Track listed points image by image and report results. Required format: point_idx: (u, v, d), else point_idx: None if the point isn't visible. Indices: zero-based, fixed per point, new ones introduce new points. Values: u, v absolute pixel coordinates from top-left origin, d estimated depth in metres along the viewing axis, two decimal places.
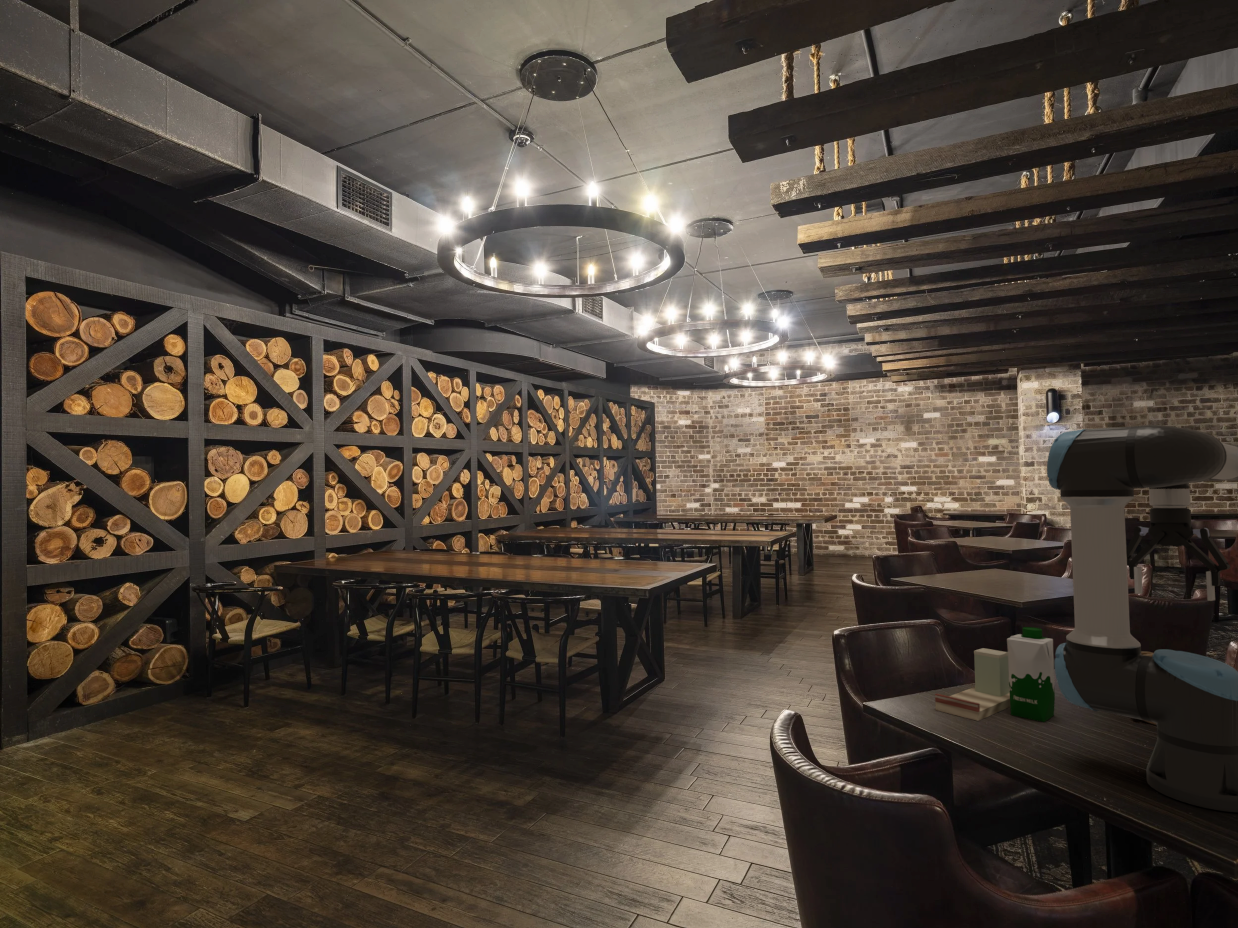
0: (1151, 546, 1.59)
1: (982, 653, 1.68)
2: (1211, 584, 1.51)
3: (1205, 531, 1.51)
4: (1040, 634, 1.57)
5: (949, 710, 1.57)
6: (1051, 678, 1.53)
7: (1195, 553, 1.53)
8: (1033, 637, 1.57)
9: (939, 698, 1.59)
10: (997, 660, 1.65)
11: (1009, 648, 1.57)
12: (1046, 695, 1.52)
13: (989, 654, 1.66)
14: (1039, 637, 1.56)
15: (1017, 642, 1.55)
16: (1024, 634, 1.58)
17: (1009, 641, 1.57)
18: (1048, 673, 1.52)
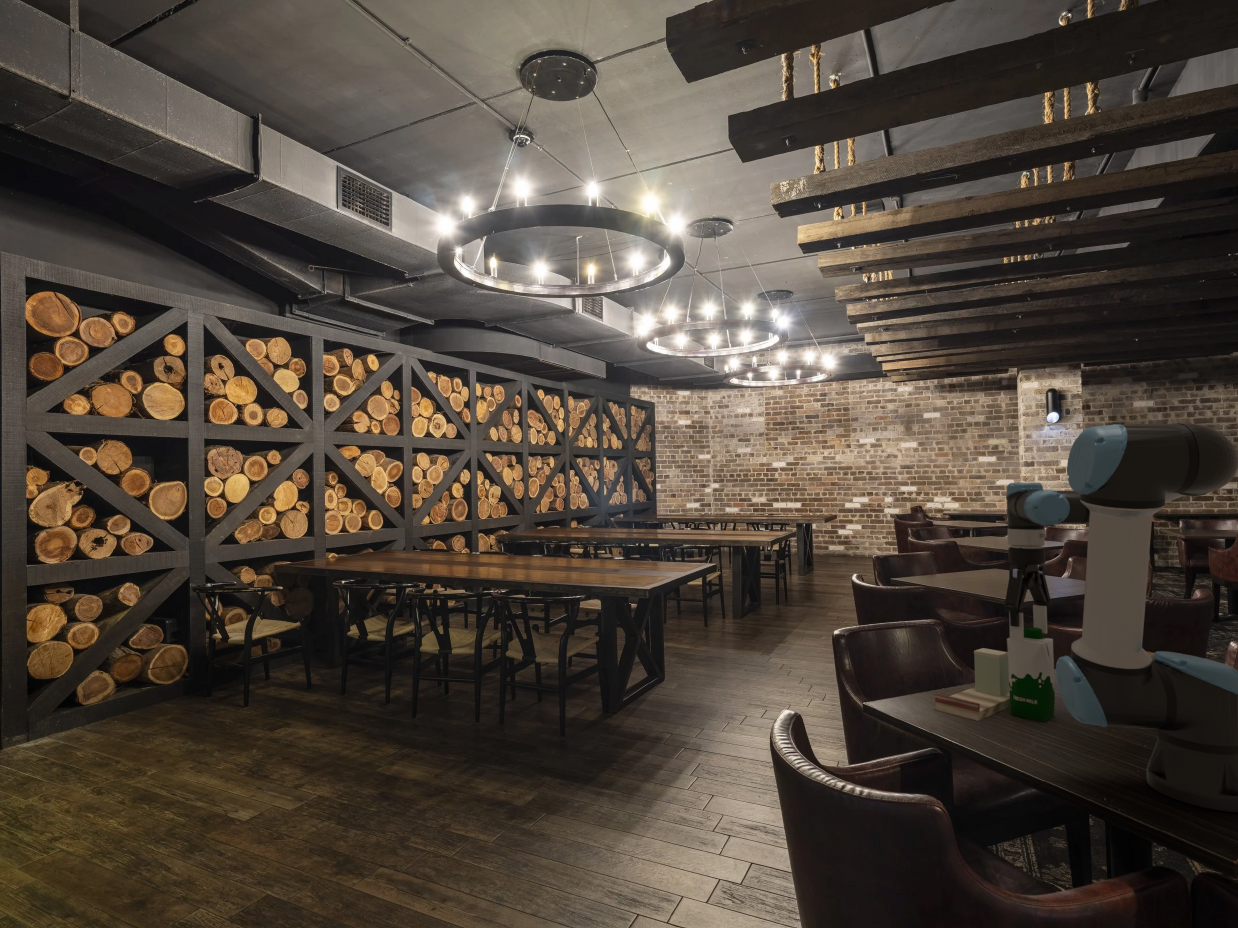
0: None
1: (982, 653, 1.68)
2: None
3: (1009, 571, 1.55)
4: (1040, 634, 1.57)
5: (949, 710, 1.57)
6: (1051, 678, 1.53)
7: None
8: (1033, 637, 1.57)
9: (939, 698, 1.59)
10: (997, 660, 1.65)
11: (1009, 648, 1.57)
12: (1046, 695, 1.52)
13: (989, 654, 1.66)
14: (1039, 637, 1.56)
15: (1017, 642, 1.55)
16: (1024, 634, 1.58)
17: (1009, 641, 1.57)
18: (1048, 673, 1.52)
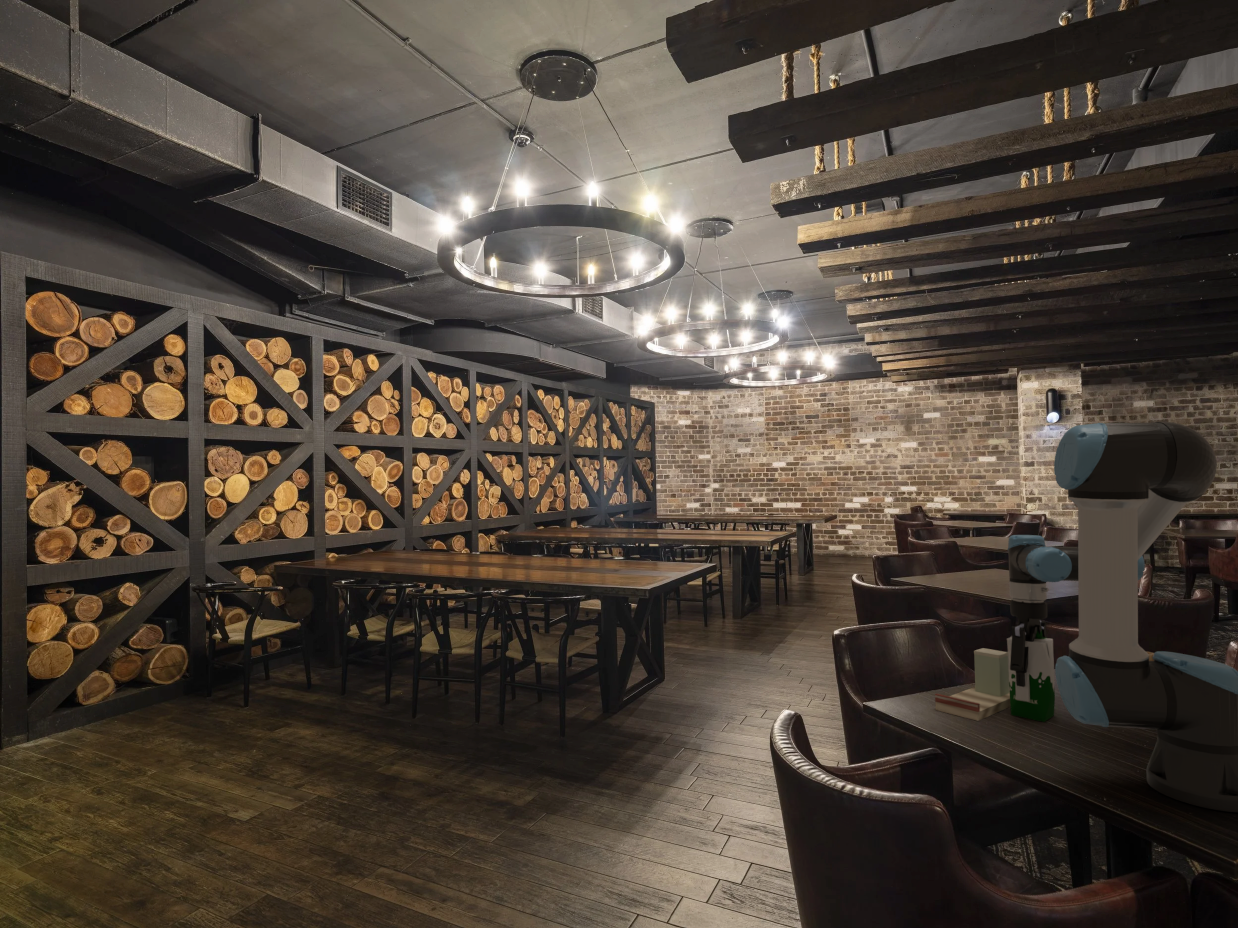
0: None
1: (982, 653, 1.68)
2: None
3: (1011, 629, 1.54)
4: (1040, 634, 1.57)
5: (949, 710, 1.57)
6: (1051, 678, 1.53)
7: None
8: None
9: (939, 698, 1.59)
10: (997, 660, 1.65)
11: (1009, 648, 1.57)
12: (1046, 695, 1.52)
13: (989, 654, 1.66)
14: (1039, 637, 1.56)
15: None
16: None
17: (1009, 641, 1.57)
18: (1048, 673, 1.52)
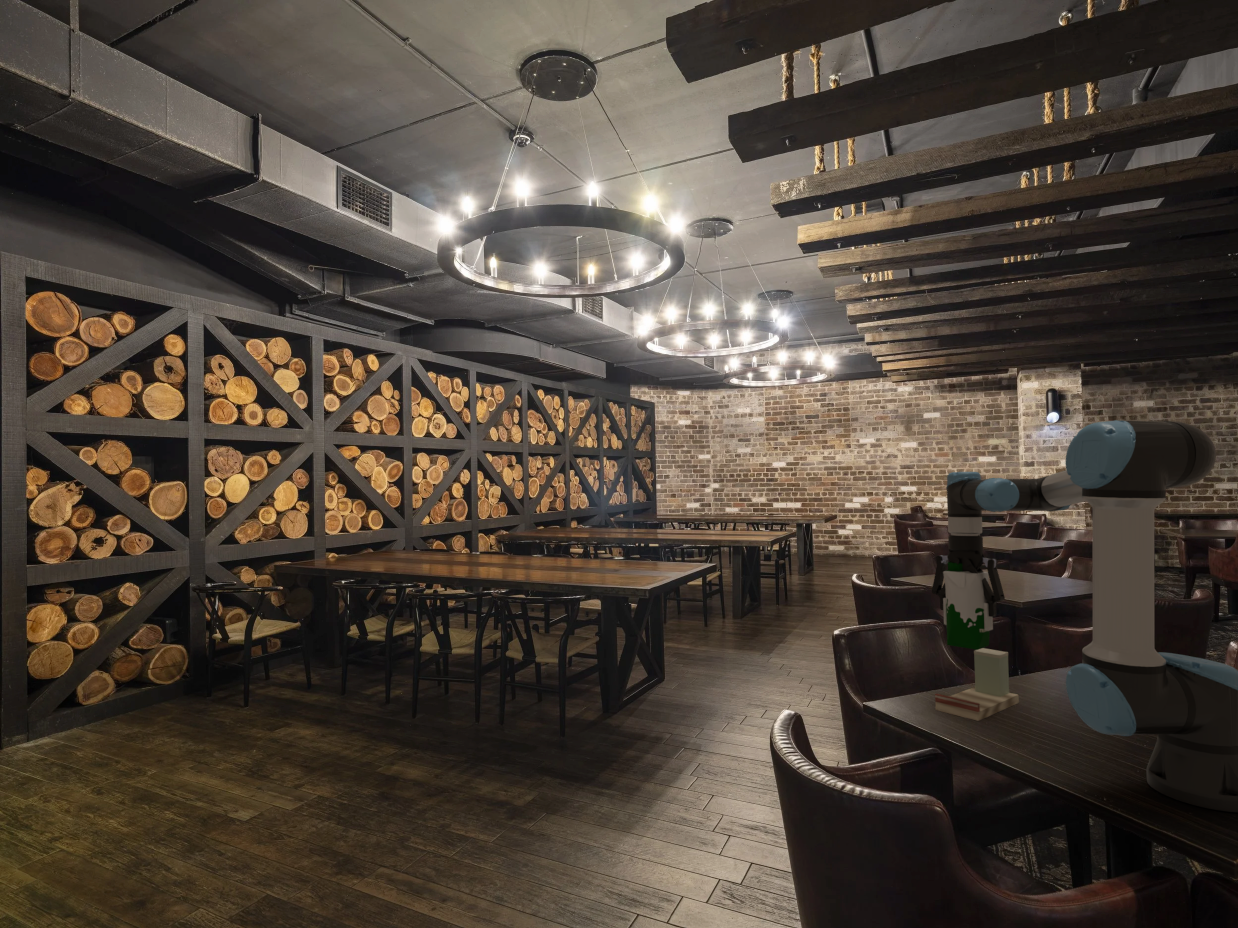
0: None
1: (982, 653, 1.68)
2: (988, 615, 1.57)
3: (992, 562, 1.56)
4: None
5: (949, 710, 1.57)
6: None
7: None
8: None
9: (939, 698, 1.59)
10: (997, 660, 1.65)
11: (976, 583, 1.57)
12: None
13: (989, 654, 1.66)
14: None
15: (980, 575, 1.58)
16: (961, 568, 1.62)
17: (978, 576, 1.57)
18: None
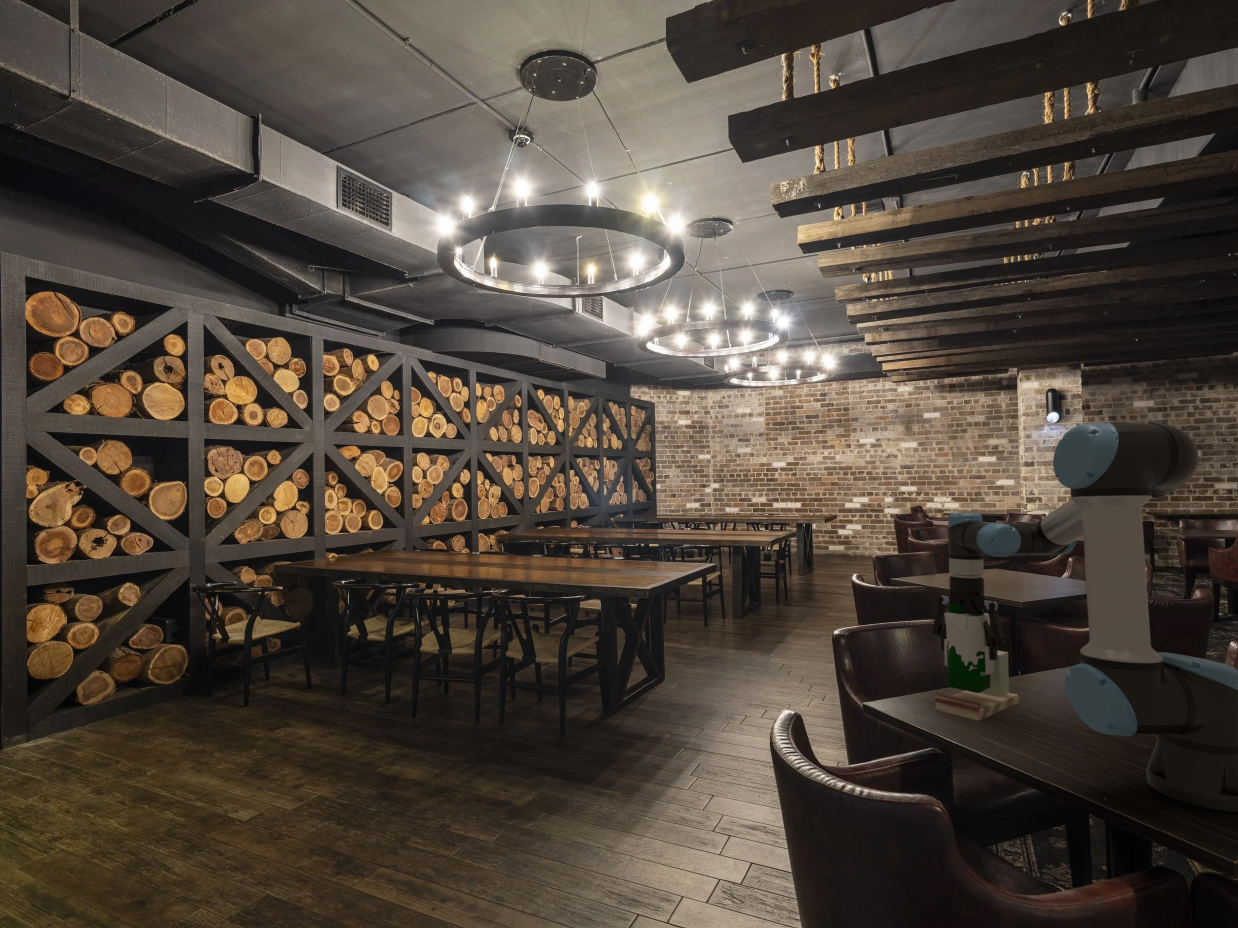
0: None
1: None
2: (989, 658, 1.56)
3: (993, 606, 1.56)
4: None
5: (949, 710, 1.57)
6: None
7: None
8: None
9: (939, 698, 1.59)
10: (997, 660, 1.65)
11: (977, 626, 1.57)
12: None
13: None
14: None
15: (981, 618, 1.58)
16: (962, 610, 1.61)
17: (979, 619, 1.57)
18: None
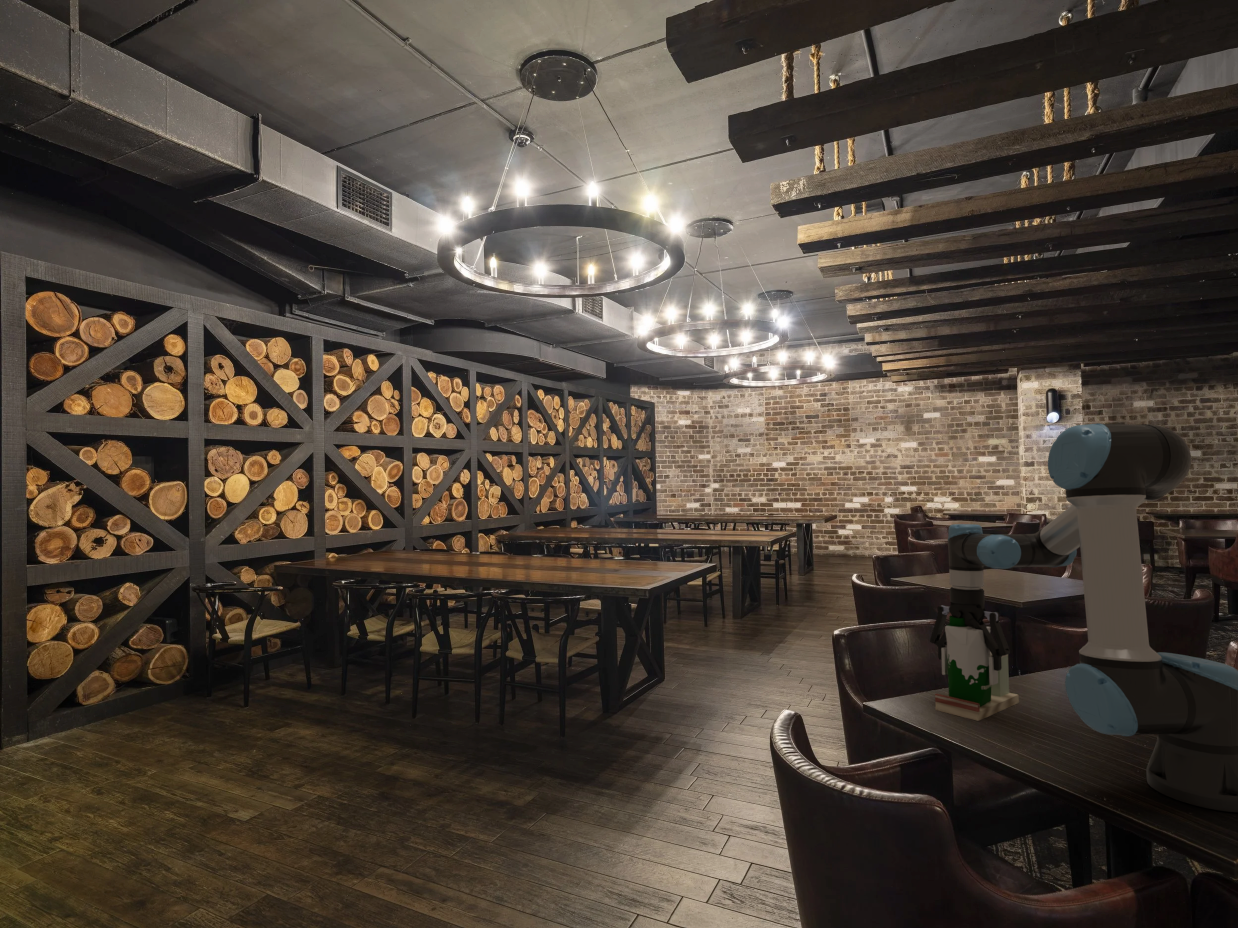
0: None
1: None
2: (993, 668, 1.56)
3: (993, 616, 1.56)
4: None
5: (949, 710, 1.57)
6: None
7: None
8: None
9: (939, 698, 1.59)
10: None
11: (978, 640, 1.56)
12: None
13: None
14: None
15: (982, 631, 1.57)
16: (963, 623, 1.61)
17: (979, 633, 1.56)
18: None
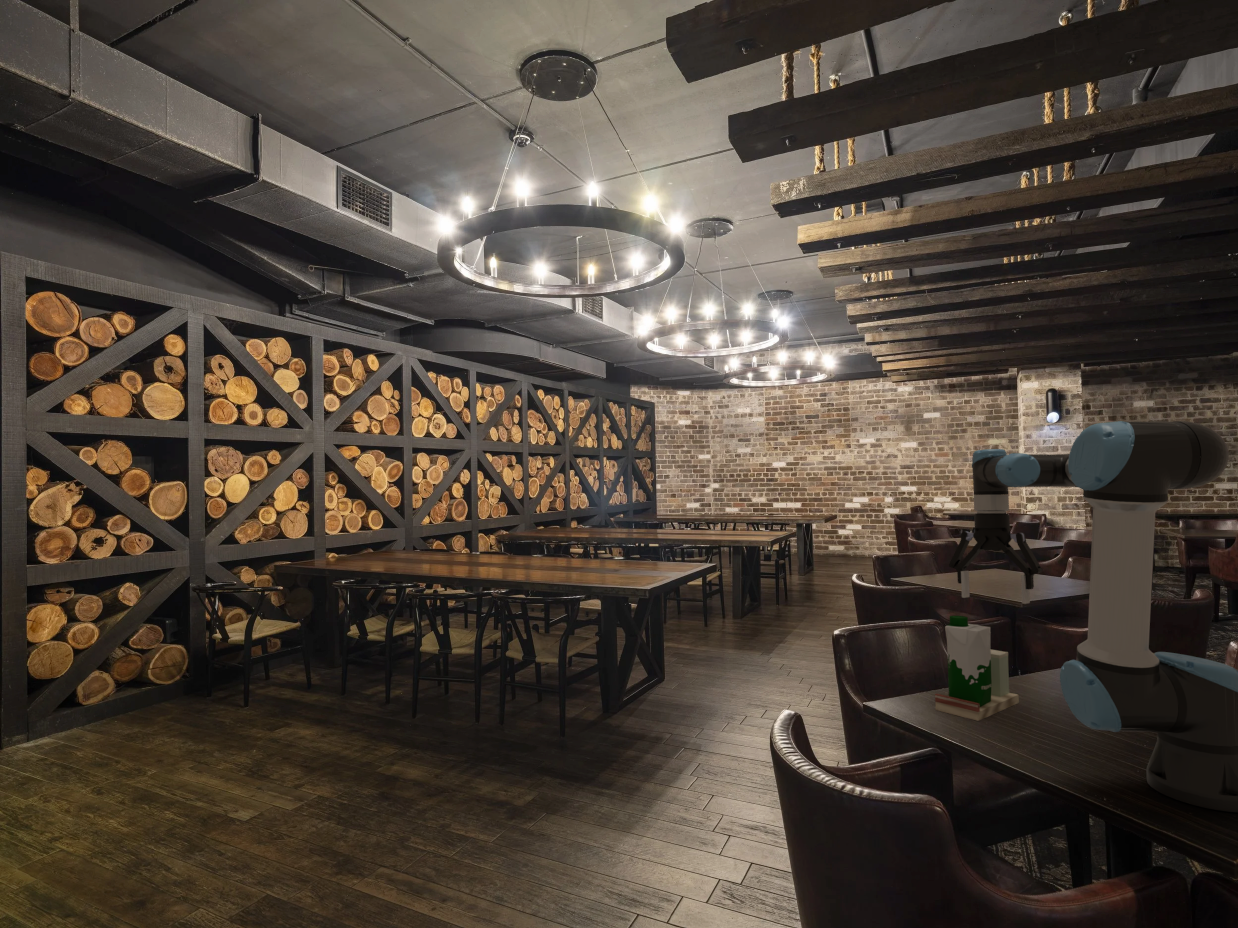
0: (975, 551, 1.63)
1: None
2: (1025, 587, 1.54)
3: (1020, 536, 1.56)
4: None
5: (949, 710, 1.57)
6: None
7: (1012, 557, 1.57)
8: (967, 624, 1.62)
9: (939, 698, 1.59)
10: (997, 660, 1.65)
11: (978, 640, 1.56)
12: None
13: None
14: None
15: (982, 631, 1.57)
16: (963, 623, 1.61)
17: (980, 633, 1.56)
18: None
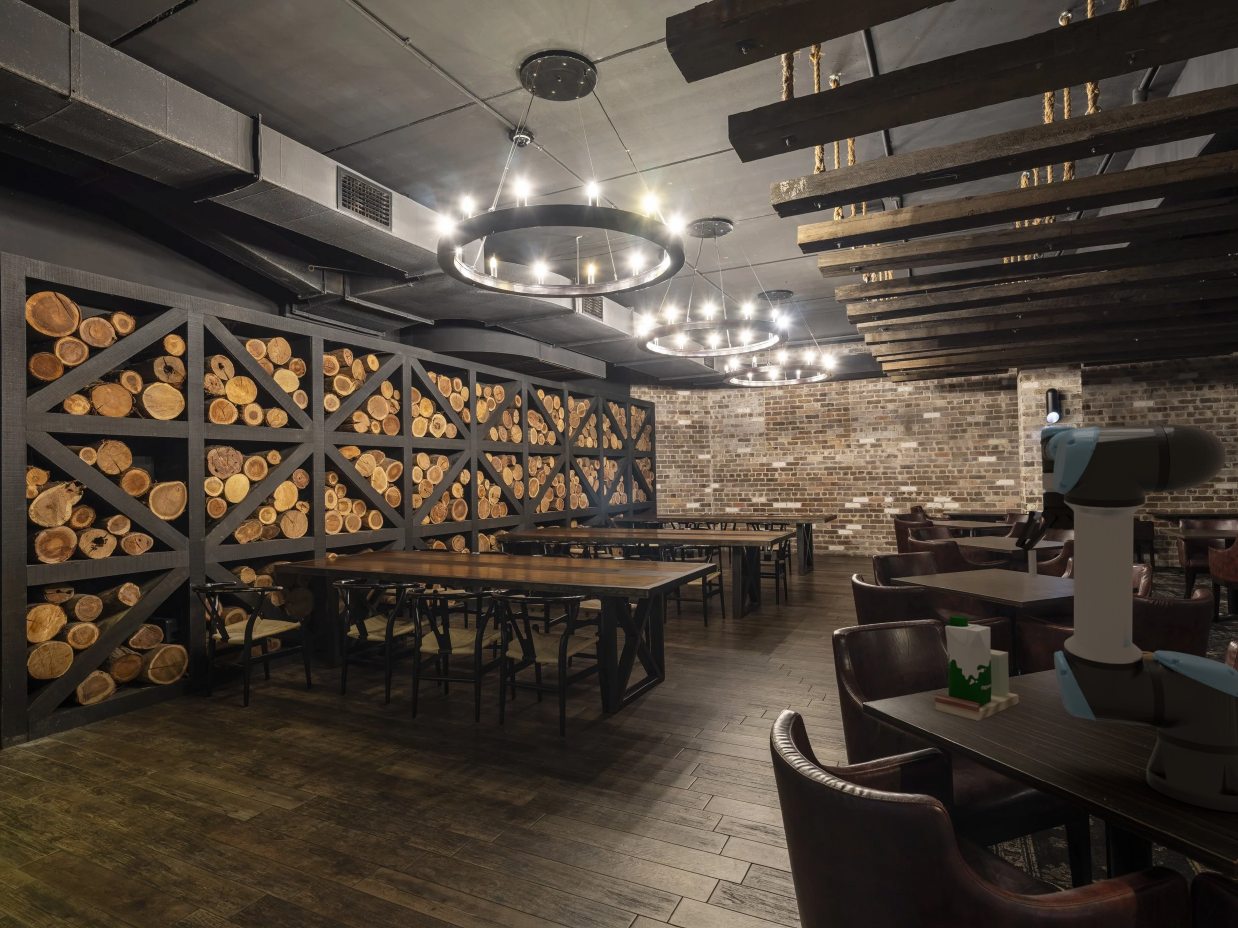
0: (1044, 530, 1.61)
1: None
2: None
3: None
4: None
5: (949, 710, 1.57)
6: None
7: None
8: (967, 624, 1.62)
9: (939, 698, 1.59)
10: (997, 660, 1.65)
11: (978, 640, 1.56)
12: None
13: None
14: None
15: (982, 631, 1.57)
16: (963, 623, 1.61)
17: (980, 633, 1.56)
18: None
